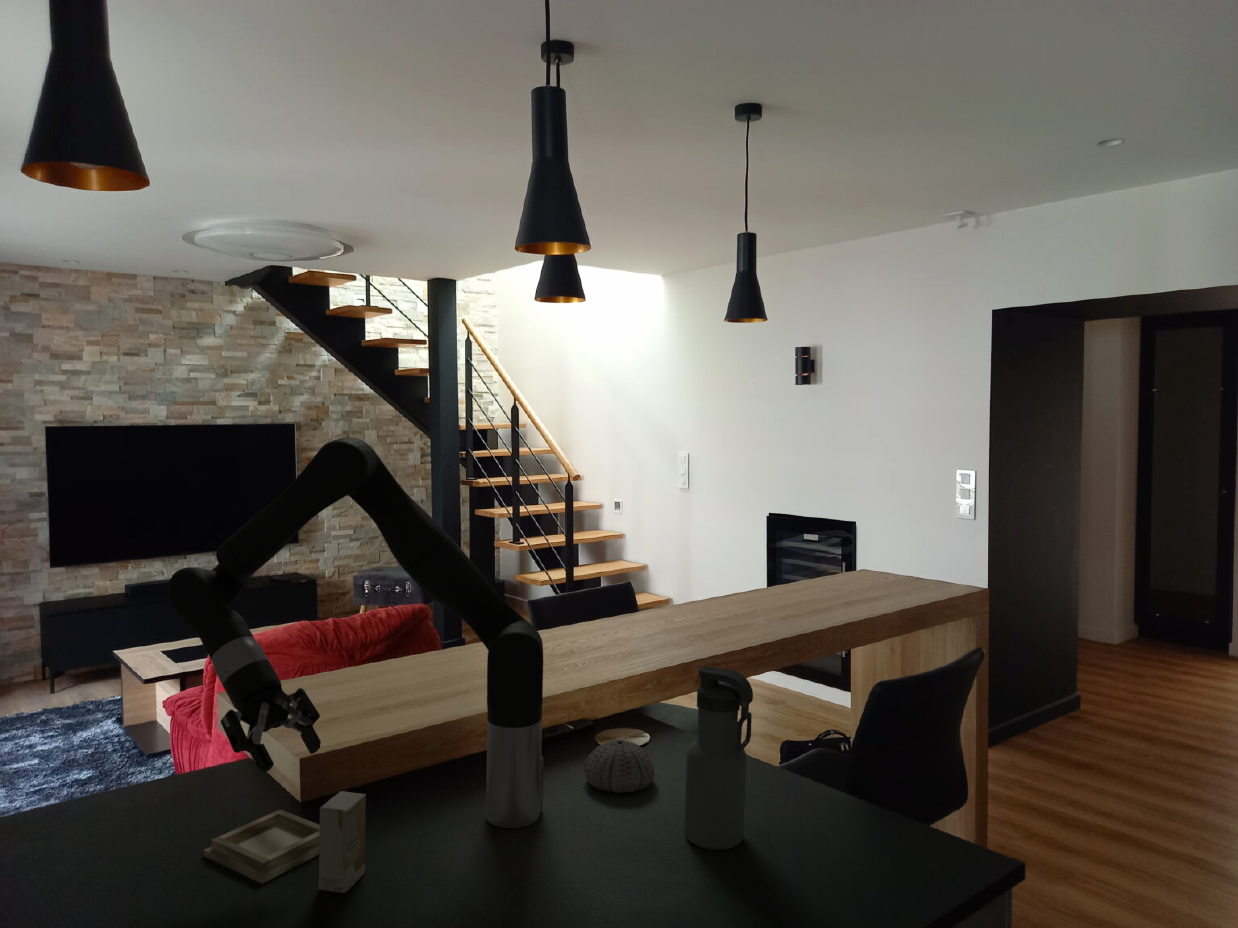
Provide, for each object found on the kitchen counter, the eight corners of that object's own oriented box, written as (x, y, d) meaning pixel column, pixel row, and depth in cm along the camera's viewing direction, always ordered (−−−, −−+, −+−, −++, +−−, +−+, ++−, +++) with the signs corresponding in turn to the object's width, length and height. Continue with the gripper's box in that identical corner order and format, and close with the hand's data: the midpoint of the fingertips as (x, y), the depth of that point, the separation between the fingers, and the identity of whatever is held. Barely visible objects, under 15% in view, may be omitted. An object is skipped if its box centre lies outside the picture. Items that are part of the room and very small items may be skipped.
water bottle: (753, 831, 147) (759, 667, 145) (735, 858, 138) (741, 684, 136) (696, 818, 151) (701, 659, 149) (675, 843, 142) (680, 674, 141)
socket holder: (281, 820, 147) (281, 806, 147) (338, 843, 139) (338, 828, 139) (203, 855, 135) (203, 840, 135) (262, 883, 128) (262, 867, 127)
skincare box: (345, 894, 125) (345, 811, 124) (317, 890, 126) (317, 808, 125) (366, 871, 132) (367, 792, 131) (340, 867, 132) (340, 789, 132)
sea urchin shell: (572, 775, 168) (573, 735, 167) (634, 764, 174) (635, 724, 173) (602, 804, 156) (603, 760, 155) (668, 791, 162) (669, 749, 161)
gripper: (214, 669, 131) (264, 762, 126) (294, 648, 143) (342, 732, 138) (193, 697, 134) (241, 788, 129) (273, 674, 146) (319, 757, 141)
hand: (293, 759), depth 134 cm, fingers open, 8 cm apart
